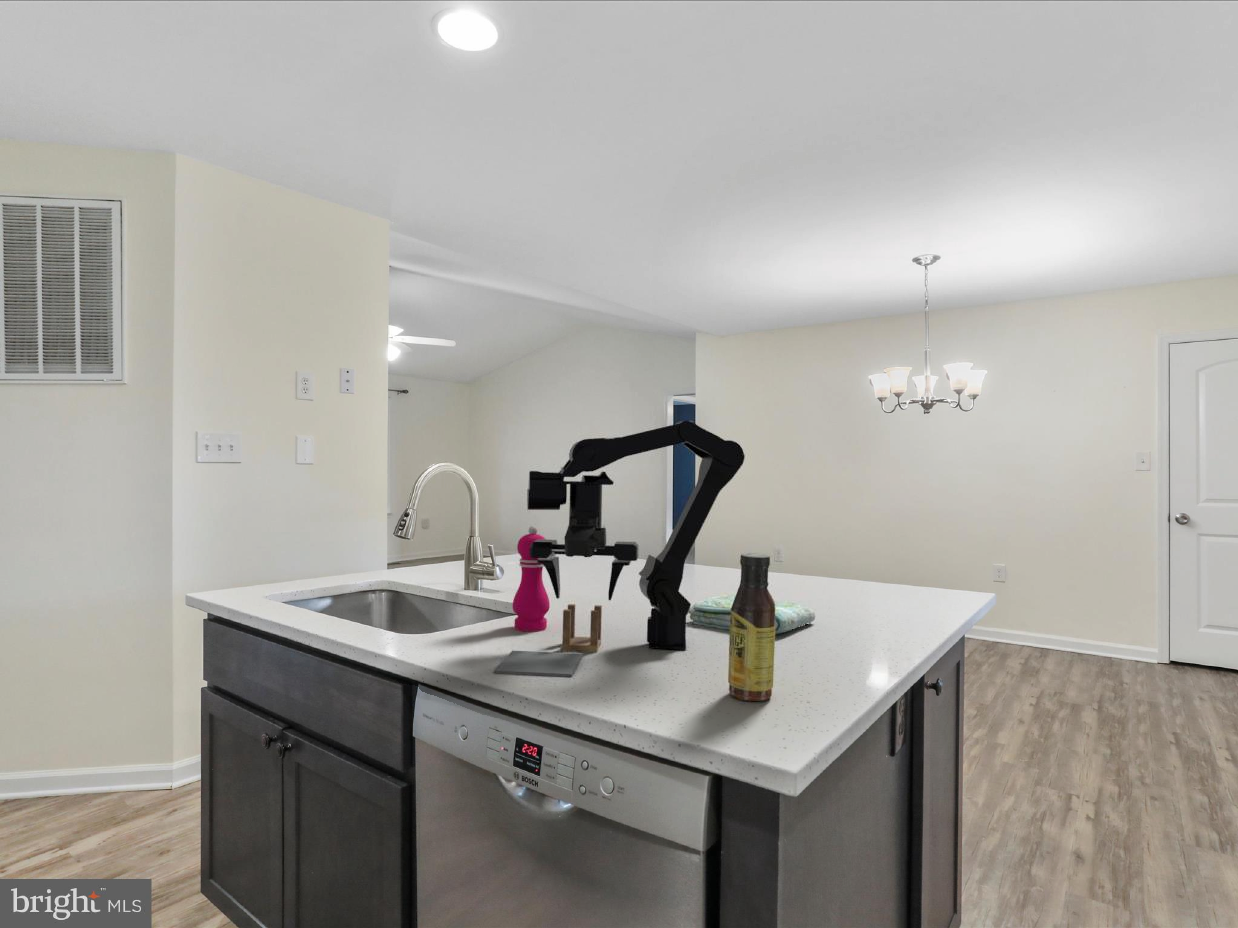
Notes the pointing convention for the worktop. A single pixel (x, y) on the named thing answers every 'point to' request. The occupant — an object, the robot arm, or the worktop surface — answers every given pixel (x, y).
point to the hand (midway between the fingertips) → (583, 599)
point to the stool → (581, 642)
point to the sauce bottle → (752, 632)
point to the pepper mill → (530, 588)
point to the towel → (719, 613)
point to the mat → (539, 663)
